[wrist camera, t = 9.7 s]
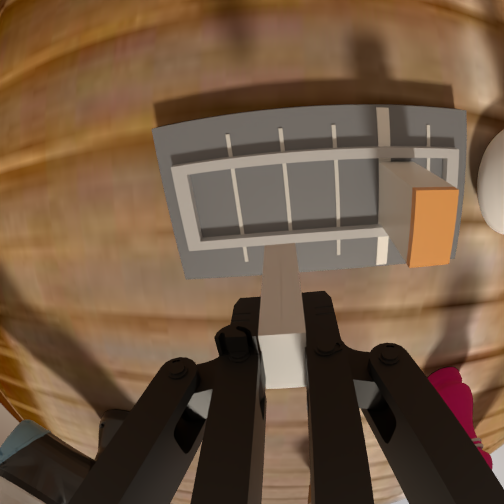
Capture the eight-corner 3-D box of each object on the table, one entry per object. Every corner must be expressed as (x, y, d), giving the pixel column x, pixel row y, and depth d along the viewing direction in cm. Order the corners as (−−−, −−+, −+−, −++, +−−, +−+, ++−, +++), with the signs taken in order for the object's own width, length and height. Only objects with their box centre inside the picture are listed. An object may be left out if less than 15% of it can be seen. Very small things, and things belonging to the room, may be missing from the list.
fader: (378, 221, 25) (409, 267, 18) (378, 161, 22) (416, 190, 16) (410, 219, 24) (448, 263, 17) (412, 161, 22) (459, 189, 15)
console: (191, 268, 31) (183, 284, 28) (160, 126, 25) (147, 130, 22) (446, 249, 27) (458, 262, 25) (454, 108, 21) (471, 111, 19)
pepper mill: (434, 362, 35) (477, 491, 17) (469, 364, 35) (514, 477, 17) (409, 395, 38) (437, 514, 21) (444, 395, 39) (476, 502, 21)
